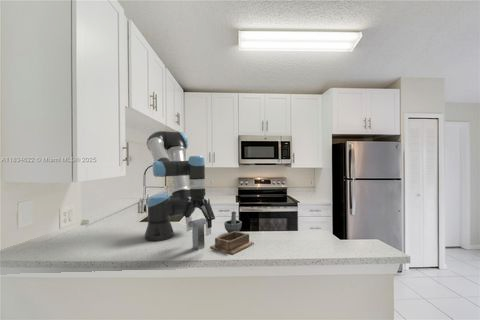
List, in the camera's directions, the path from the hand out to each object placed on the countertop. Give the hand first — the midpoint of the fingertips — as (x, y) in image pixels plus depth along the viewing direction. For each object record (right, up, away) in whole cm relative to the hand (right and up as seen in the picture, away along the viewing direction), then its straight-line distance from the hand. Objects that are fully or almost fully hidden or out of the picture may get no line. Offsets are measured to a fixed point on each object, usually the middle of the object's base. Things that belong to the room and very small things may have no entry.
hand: (198, 232), depth 115 cm
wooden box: (+16, -7, +2) cm, 18 cm away
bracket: (0, -7, 0) cm, 7 cm away
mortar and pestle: (+16, -7, +21) cm, 27 cm away
